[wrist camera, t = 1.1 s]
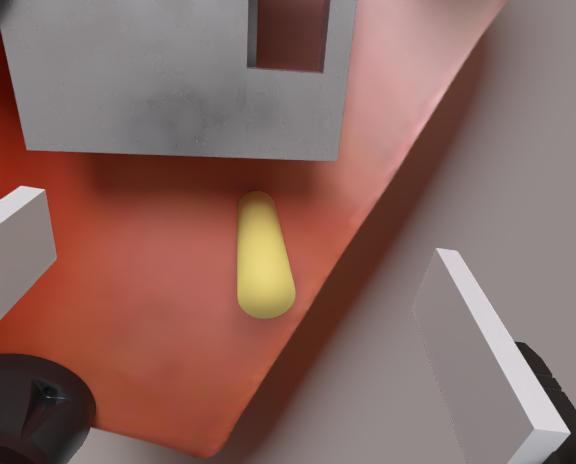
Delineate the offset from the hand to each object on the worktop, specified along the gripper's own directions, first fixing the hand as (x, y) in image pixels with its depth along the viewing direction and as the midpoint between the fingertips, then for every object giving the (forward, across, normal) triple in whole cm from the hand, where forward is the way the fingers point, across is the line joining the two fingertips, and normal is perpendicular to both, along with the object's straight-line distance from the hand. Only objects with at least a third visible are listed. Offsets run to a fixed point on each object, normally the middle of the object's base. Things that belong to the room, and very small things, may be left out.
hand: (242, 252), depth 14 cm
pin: (+22, 0, +10) cm, 24 cm away
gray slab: (+22, +7, -5) cm, 24 cm away
